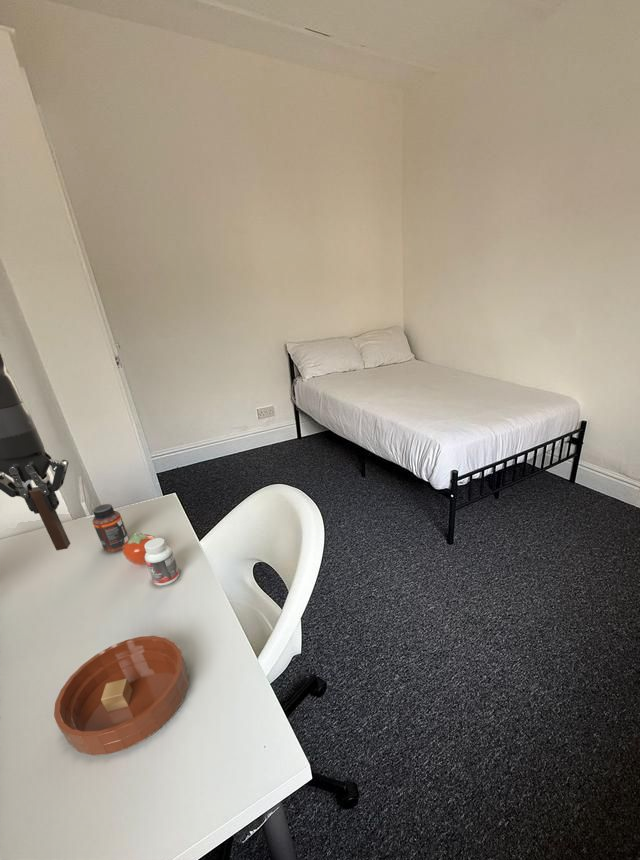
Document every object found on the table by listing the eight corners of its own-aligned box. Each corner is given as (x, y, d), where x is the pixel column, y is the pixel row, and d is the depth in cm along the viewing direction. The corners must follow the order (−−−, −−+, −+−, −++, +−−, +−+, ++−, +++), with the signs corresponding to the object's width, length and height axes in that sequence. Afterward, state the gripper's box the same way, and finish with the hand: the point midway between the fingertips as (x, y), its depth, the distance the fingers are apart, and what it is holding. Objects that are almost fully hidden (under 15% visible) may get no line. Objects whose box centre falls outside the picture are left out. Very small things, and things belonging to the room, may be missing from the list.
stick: (56, 550, 87) (28, 491, 80) (59, 545, 88) (32, 487, 82) (67, 548, 87) (40, 490, 81) (70, 543, 89) (44, 485, 82)
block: (107, 712, 65) (100, 700, 63) (112, 695, 67) (106, 683, 66) (128, 706, 65) (122, 694, 64) (132, 690, 68) (126, 678, 67)
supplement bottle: (136, 542, 107) (122, 504, 102) (114, 555, 102) (98, 516, 97) (120, 537, 109) (106, 499, 104) (98, 549, 104) (82, 511, 99)
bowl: (48, 774, 57) (33, 753, 55) (87, 671, 72) (76, 651, 70) (183, 734, 62) (174, 713, 59) (194, 645, 77) (187, 625, 74)
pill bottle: (148, 586, 92) (134, 550, 87) (162, 570, 96) (149, 535, 92) (171, 586, 91) (159, 550, 87) (184, 570, 96) (173, 535, 91)
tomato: (131, 554, 102) (121, 527, 98) (164, 548, 104) (155, 521, 100) (124, 573, 96) (113, 545, 92) (159, 566, 98) (149, 538, 94)
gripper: (60, 418, 81) (91, 496, 89) (-26, 427, 77) (14, 507, 85) (44, 431, 74) (79, 513, 82) (-50, 441, 71) (-4, 526, 79)
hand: (46, 510), depth 84 cm, fingers closed on stick, 2 cm apart
